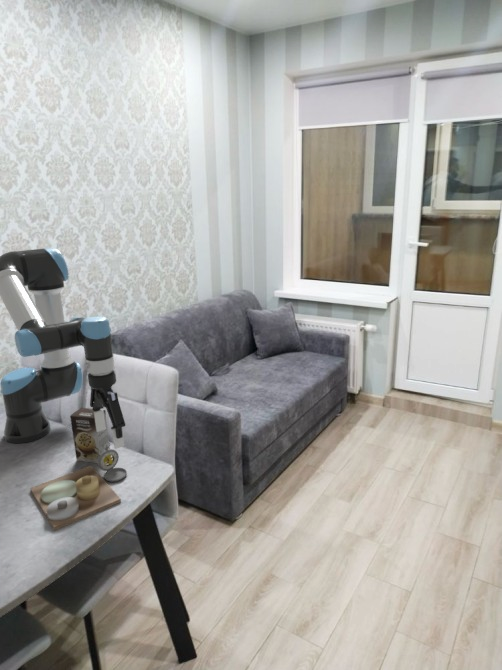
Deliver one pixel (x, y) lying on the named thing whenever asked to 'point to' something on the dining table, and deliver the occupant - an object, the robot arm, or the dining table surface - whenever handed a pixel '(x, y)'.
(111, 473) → the pocket watch
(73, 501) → the tray
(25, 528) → the dining table surface
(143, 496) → the dining table surface
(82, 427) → the coffee box
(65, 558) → the dining table surface
